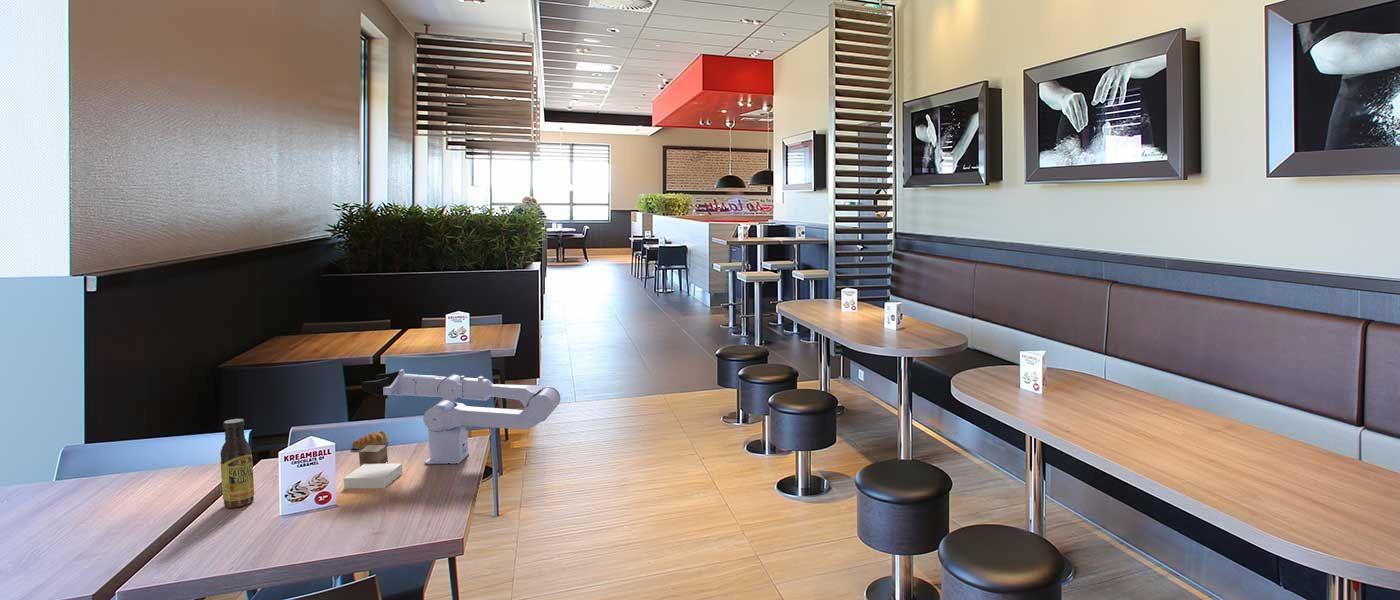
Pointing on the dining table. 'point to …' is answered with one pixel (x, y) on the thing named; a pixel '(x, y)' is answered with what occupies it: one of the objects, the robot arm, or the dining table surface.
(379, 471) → the base block
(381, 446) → the walnut block
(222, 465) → the sauce bottle
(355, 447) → the pastry
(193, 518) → the dining table surface
